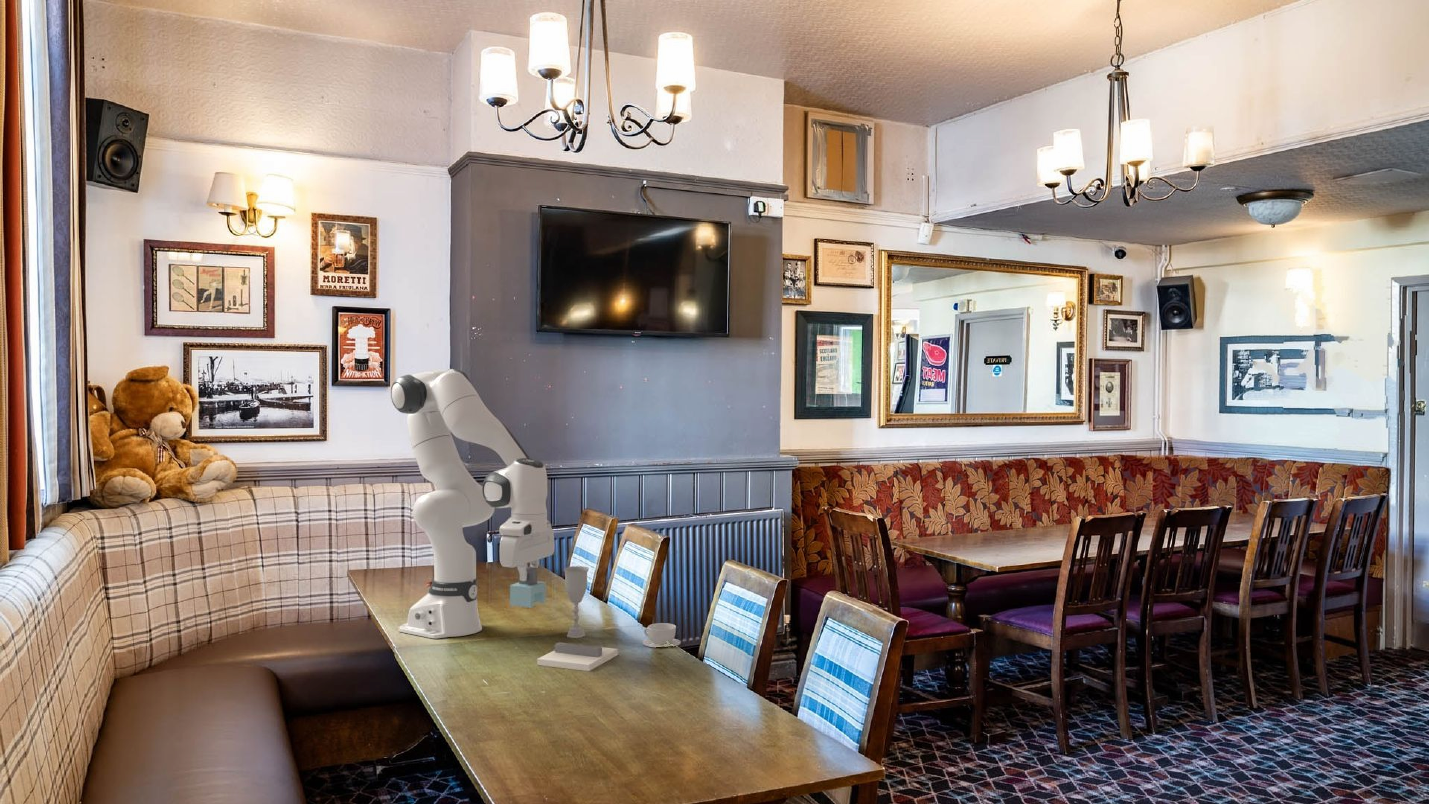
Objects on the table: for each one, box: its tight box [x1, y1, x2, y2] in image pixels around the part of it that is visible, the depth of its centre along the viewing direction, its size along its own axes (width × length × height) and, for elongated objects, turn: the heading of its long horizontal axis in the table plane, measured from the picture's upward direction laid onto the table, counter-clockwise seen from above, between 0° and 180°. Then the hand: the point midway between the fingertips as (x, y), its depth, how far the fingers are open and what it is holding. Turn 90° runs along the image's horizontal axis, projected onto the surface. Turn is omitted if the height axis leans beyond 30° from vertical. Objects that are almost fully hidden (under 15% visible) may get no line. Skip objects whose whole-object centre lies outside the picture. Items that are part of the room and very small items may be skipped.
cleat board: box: [536, 642, 619, 672], centre depth 239 cm, size 14×15×4 cm
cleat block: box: [509, 566, 547, 609], centre depth 244 cm, size 6×7×9 cm
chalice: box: [563, 565, 590, 639], centre depth 262 cm, size 7×7×18 cm
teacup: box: [642, 622, 682, 648], centre depth 254 cm, size 10×10×5 cm
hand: (528, 579), depth 244 cm, fingers closed on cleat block
